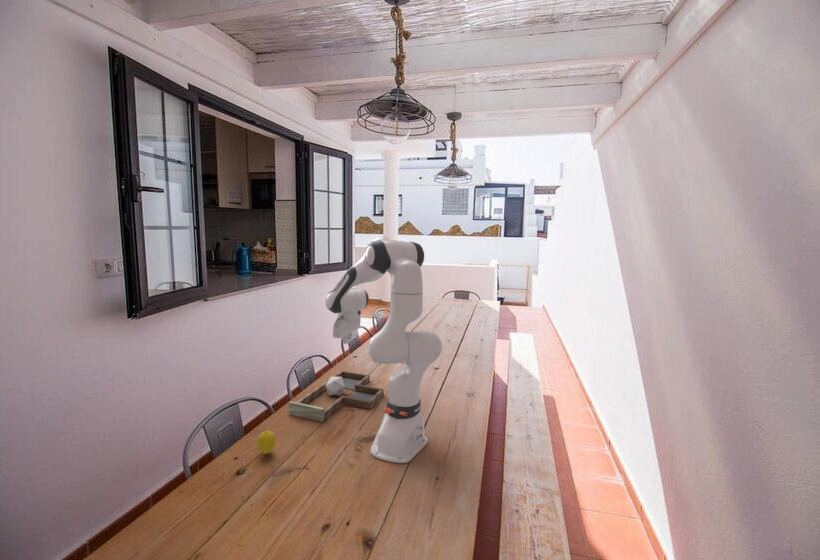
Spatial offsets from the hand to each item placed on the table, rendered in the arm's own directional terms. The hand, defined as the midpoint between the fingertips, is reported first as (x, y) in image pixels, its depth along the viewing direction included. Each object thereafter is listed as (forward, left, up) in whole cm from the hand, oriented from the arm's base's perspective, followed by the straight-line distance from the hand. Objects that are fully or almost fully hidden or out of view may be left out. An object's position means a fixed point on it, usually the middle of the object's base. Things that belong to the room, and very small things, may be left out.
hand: (346, 342), depth 176 cm
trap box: (-12, -6, -21) cm, 25 cm away
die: (-10, 0, -21) cm, 24 cm away
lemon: (-58, -2, -21) cm, 62 cm away
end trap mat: (+2, 0, -21) cm, 21 cm away
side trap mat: (-10, -13, -21) cm, 27 cm away
